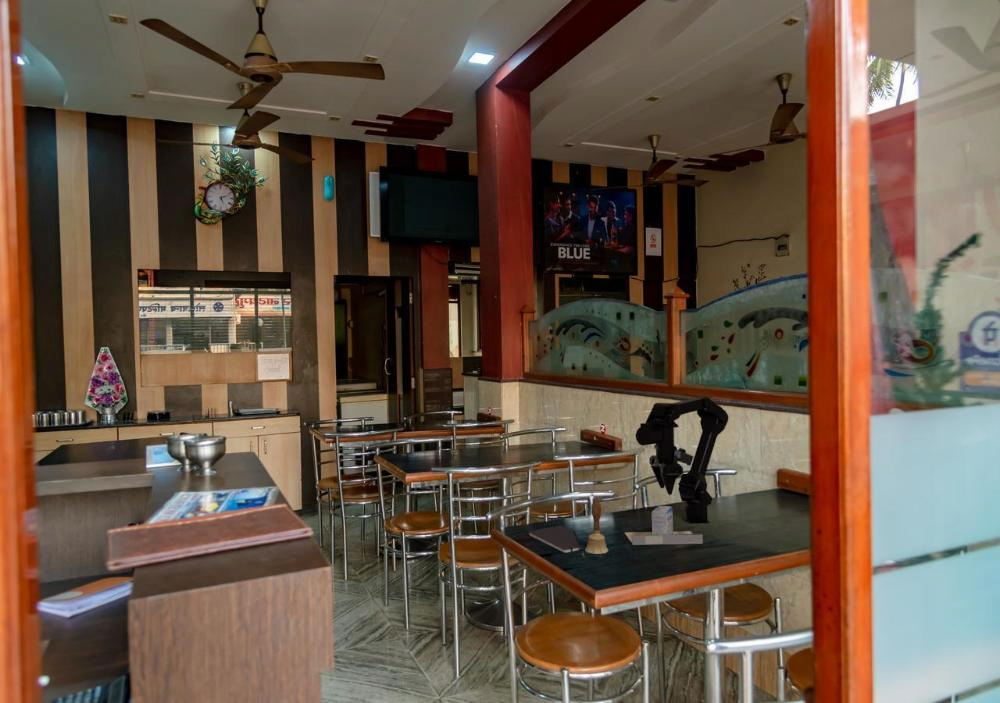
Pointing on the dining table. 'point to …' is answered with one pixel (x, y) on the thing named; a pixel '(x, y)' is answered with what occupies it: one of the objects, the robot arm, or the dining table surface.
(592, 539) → the hand bell
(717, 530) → the dining table surface
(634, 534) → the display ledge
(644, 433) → the robot arm
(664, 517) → the medicine box
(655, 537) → the rail
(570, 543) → the notebook
